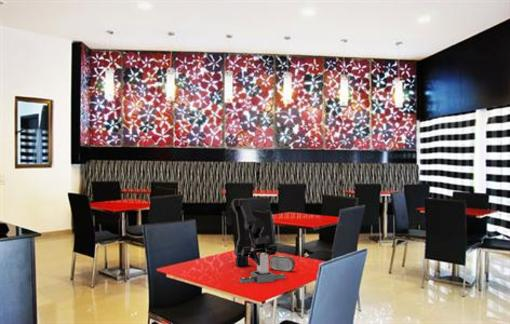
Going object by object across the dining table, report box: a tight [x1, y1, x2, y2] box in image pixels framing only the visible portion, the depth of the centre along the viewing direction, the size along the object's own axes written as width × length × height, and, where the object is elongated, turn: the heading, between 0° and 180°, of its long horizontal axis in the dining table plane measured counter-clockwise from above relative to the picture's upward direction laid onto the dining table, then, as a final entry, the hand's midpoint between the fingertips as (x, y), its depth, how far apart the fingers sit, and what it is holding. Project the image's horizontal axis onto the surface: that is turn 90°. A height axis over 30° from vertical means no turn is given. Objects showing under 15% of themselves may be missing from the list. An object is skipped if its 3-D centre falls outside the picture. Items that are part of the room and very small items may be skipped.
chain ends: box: [238, 270, 287, 284], centre depth 228 cm, size 9×24×4 cm, turn 110°
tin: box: [268, 254, 296, 273], centre depth 247 cm, size 15×3×8 cm, turn 65°
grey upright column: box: [256, 252, 269, 275], centre depth 228 cm, size 4×4×13 cm
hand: (263, 265), depth 227 cm, fingers closed on grey upright column, 4 cm apart
